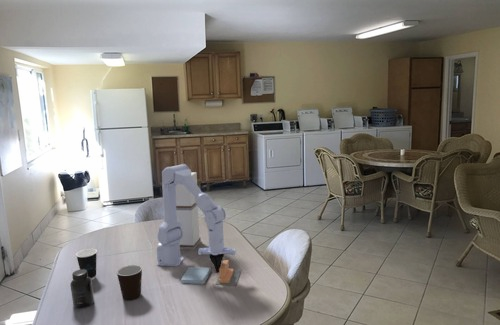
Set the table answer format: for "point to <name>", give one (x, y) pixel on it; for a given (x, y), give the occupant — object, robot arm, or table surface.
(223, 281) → the stub
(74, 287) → the supplement bottle
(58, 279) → the table surface
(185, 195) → the tall white rectangular box
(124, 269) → the coffee mug
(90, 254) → the dixie cup
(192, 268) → the light blue notched panel
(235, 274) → the pad
